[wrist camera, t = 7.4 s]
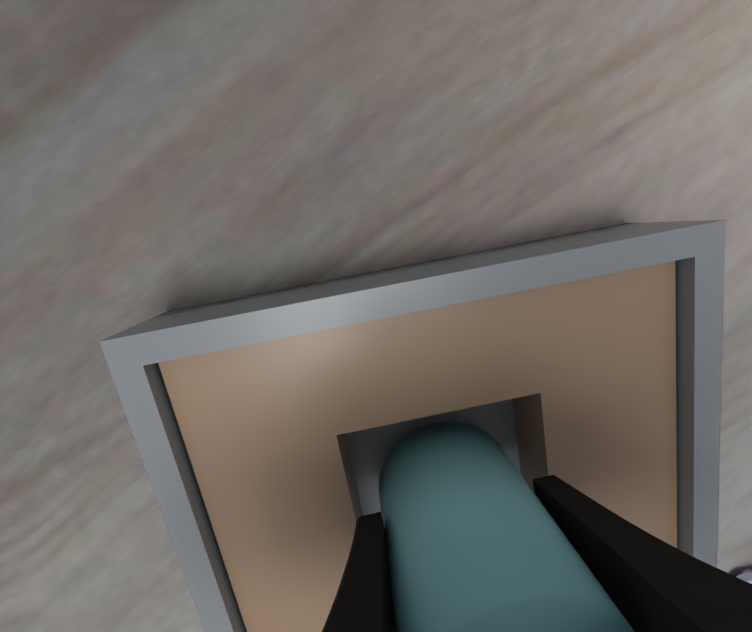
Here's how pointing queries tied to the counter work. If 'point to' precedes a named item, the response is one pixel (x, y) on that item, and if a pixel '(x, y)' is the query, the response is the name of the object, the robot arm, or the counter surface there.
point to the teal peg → (479, 543)
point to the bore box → (427, 402)
